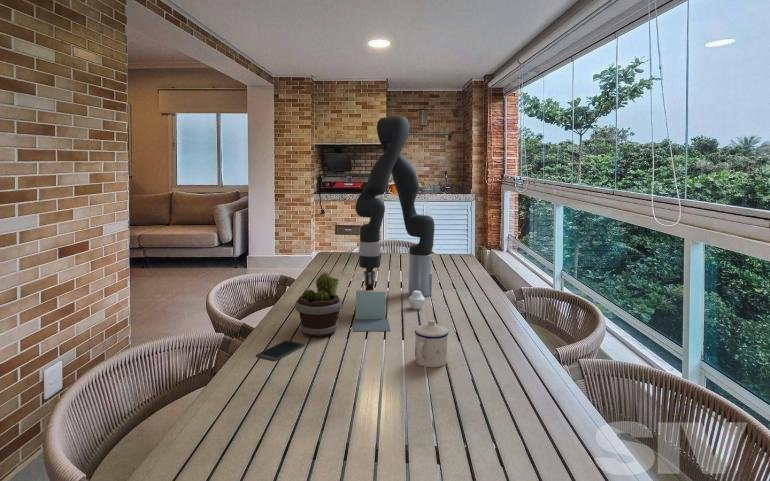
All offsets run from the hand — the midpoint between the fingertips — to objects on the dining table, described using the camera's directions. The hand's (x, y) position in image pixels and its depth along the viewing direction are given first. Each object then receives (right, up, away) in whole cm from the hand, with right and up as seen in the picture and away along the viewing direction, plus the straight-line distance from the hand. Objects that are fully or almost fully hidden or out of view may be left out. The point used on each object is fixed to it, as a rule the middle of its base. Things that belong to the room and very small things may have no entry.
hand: (369, 300), depth 176 cm
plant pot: (-17, -2, +15) cm, 23 cm away
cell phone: (-24, -10, -36) cm, 45 cm away
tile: (+1, -6, -6) cm, 8 cm away
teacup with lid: (+17, -12, -44) cm, 49 cm away
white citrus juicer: (+18, -4, +7) cm, 20 cm away
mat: (+1, -7, -13) cm, 15 cm away
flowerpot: (-15, -8, -21) cm, 27 cm away
